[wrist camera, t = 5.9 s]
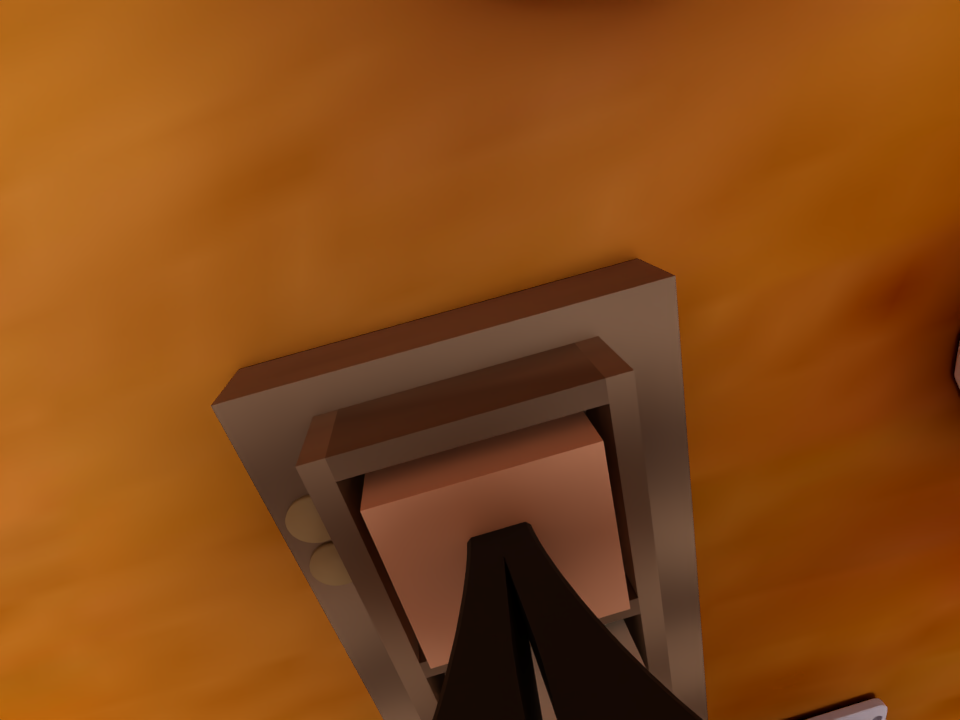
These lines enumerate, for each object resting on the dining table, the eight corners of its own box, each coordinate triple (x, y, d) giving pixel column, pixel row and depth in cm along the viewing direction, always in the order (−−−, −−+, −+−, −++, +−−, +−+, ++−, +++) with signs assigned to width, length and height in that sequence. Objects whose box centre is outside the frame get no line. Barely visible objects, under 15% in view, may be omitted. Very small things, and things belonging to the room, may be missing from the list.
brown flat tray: (686, 725, 22) (742, 837, 18) (454, 796, 22) (463, 925, 18) (637, 258, 13) (727, 299, 9) (239, 369, 13) (172, 456, 9)
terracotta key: (597, 542, 14) (630, 608, 12) (427, 592, 14) (430, 668, 12) (569, 391, 12) (603, 440, 10) (368, 448, 12) (360, 511, 10)
